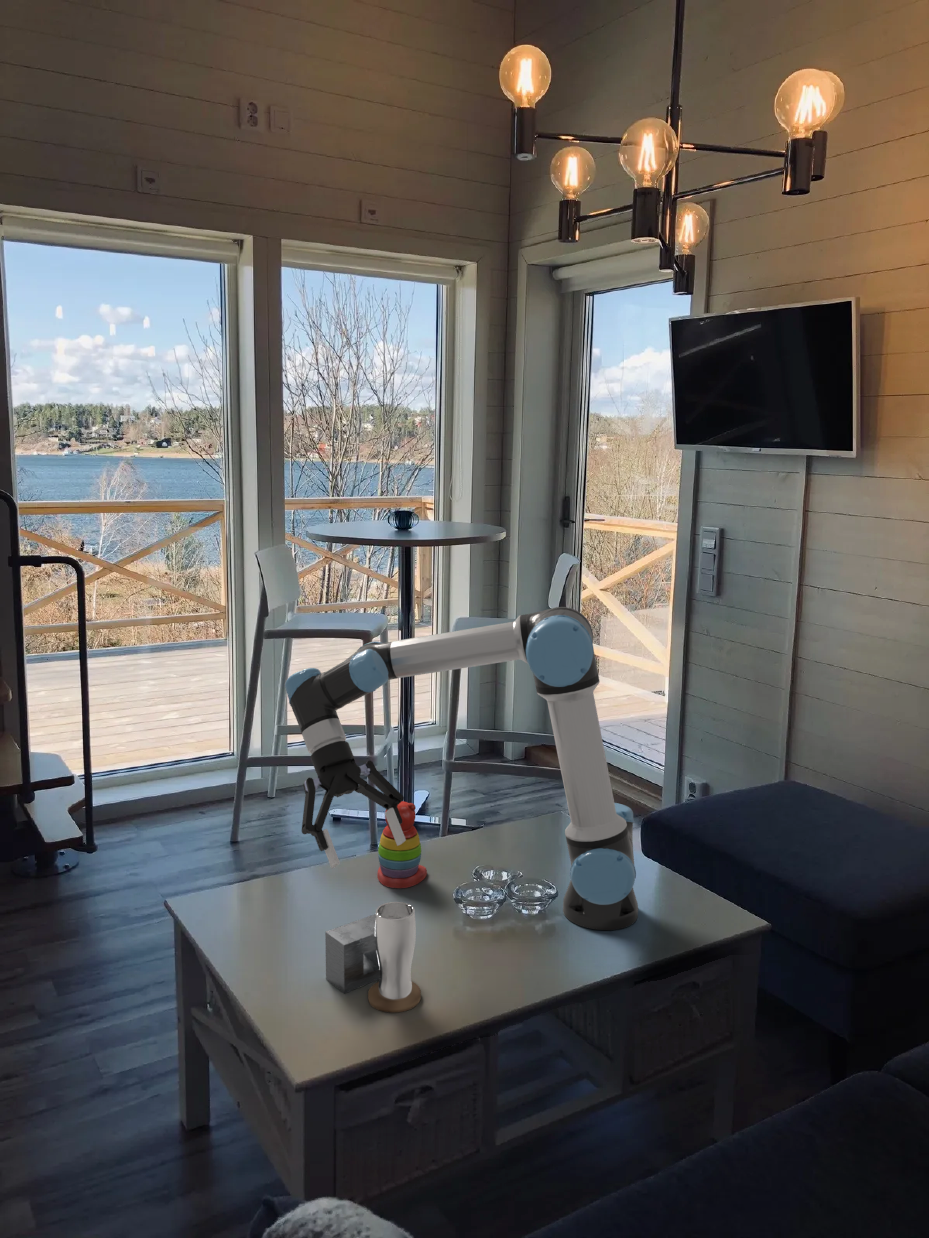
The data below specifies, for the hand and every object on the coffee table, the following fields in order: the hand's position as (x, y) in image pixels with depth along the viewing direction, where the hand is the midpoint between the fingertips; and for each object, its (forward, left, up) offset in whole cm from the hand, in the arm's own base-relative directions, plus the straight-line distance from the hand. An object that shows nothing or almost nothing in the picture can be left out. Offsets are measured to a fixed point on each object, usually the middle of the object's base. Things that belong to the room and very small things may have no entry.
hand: (369, 854), depth 175 cm
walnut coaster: (-7, +12, -21) cm, 25 cm away
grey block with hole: (0, +5, -21) cm, 21 cm away
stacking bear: (0, -35, -21) cm, 41 cm away
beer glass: (-7, +12, -20) cm, 24 cm away
